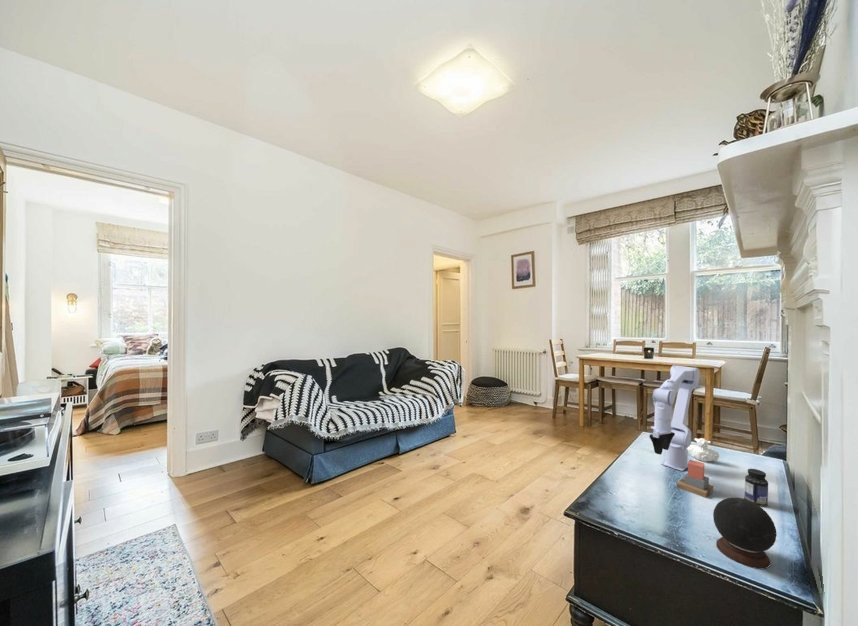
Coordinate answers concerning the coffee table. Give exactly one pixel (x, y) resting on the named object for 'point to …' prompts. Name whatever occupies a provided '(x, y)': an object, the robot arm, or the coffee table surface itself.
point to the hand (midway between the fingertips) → (661, 451)
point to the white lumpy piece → (703, 451)
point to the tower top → (697, 482)
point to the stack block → (696, 469)
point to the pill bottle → (756, 487)
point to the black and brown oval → (744, 531)
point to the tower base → (695, 489)
